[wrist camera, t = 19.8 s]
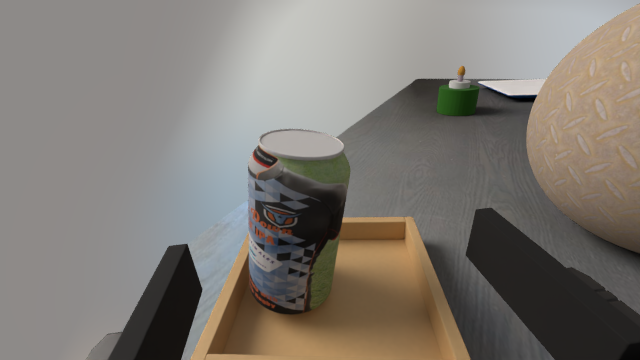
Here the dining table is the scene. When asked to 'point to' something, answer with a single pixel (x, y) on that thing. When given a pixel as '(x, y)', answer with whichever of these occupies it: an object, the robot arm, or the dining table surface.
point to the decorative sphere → (593, 132)
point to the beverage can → (295, 218)
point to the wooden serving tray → (345, 306)
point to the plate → (516, 87)
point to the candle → (458, 97)
